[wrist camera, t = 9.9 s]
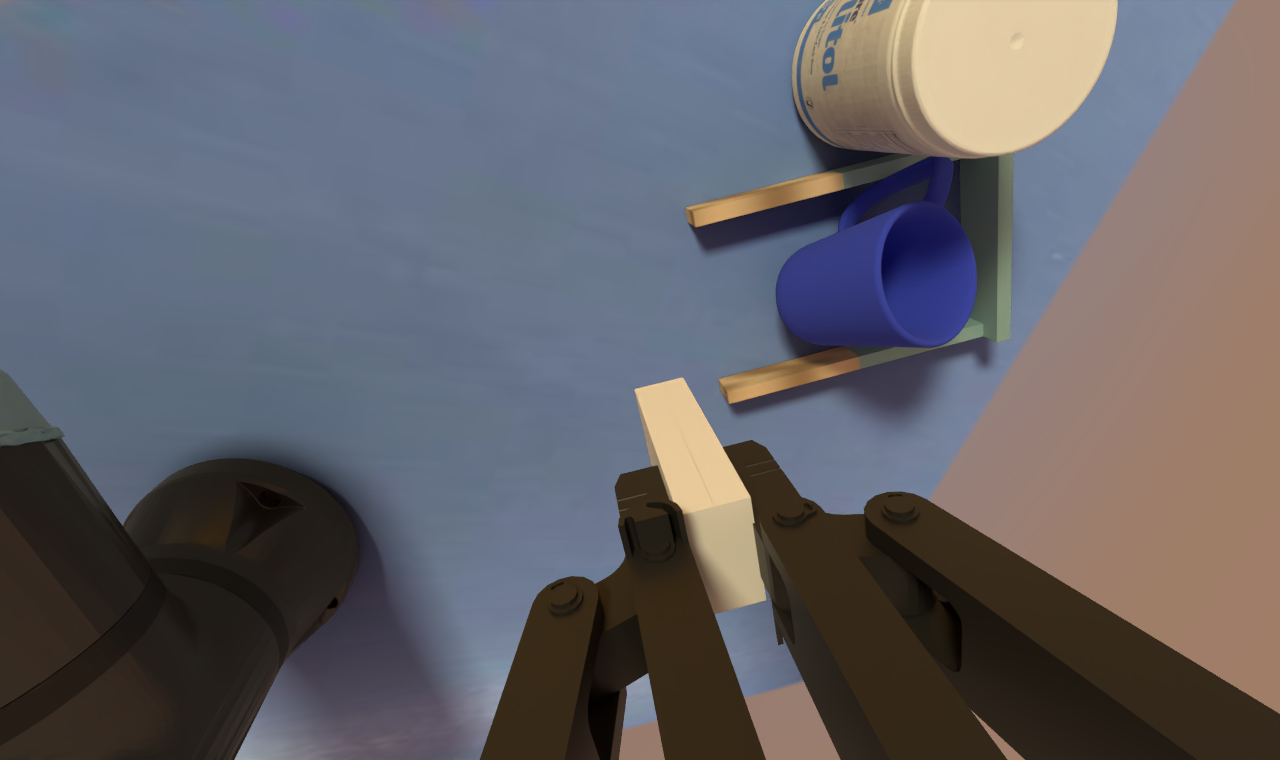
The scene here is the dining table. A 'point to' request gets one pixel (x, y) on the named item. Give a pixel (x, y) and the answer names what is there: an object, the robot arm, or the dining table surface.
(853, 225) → the mug
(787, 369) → the flange rails
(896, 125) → the supplement tub
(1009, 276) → the pocket
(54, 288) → the dining table surface
